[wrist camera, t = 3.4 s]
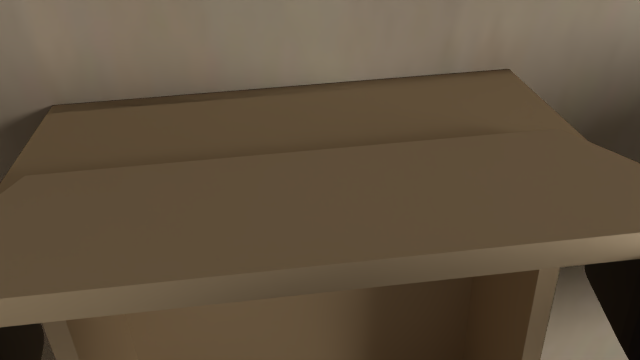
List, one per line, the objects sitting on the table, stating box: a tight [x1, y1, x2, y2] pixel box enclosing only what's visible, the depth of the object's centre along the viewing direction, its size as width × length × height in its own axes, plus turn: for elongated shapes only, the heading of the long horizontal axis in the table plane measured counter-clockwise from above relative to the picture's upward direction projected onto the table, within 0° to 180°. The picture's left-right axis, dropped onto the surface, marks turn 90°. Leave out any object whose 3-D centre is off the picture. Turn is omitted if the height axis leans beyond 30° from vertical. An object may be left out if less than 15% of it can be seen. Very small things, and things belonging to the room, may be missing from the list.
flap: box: [0, 129, 640, 327], centre depth 11 cm, size 12×6×1 cm
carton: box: [0, 69, 587, 360], centre depth 20 cm, size 14×14×5 cm
